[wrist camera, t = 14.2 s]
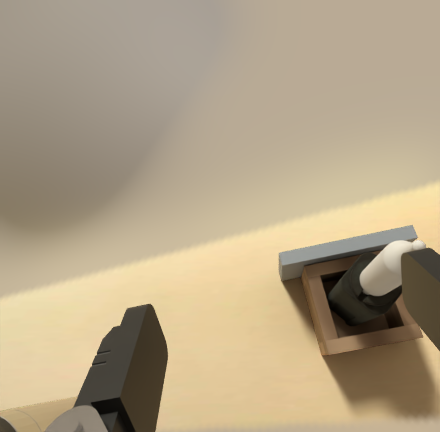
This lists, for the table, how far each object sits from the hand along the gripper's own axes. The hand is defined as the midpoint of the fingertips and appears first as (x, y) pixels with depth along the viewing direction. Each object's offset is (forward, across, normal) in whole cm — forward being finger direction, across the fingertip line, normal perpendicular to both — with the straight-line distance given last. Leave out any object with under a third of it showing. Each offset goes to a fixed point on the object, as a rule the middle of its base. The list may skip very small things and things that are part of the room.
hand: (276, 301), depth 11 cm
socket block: (+30, -11, +25) cm, 40 cm away
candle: (+29, -10, +24) cm, 39 cm away
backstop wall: (+34, -11, +21) cm, 41 cm away
